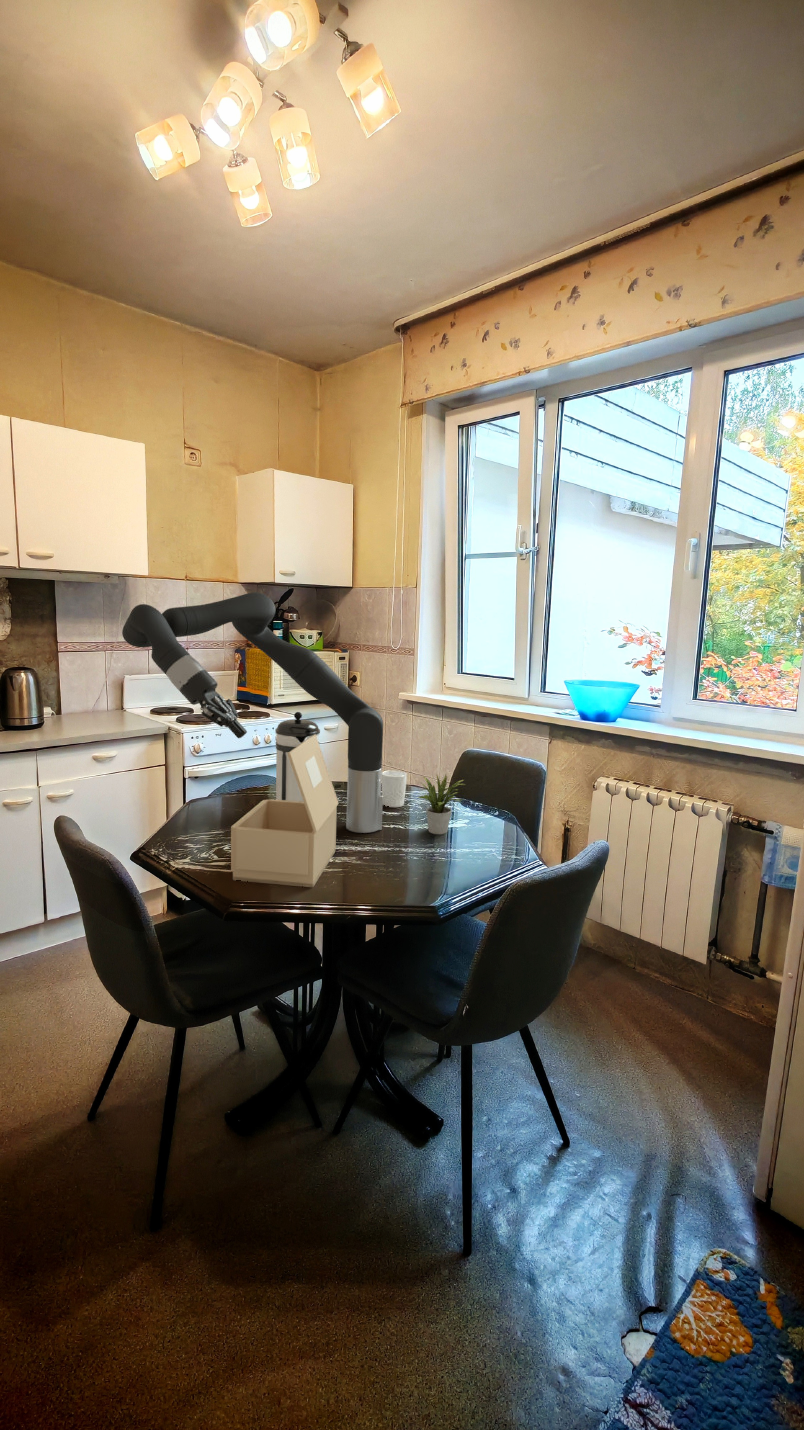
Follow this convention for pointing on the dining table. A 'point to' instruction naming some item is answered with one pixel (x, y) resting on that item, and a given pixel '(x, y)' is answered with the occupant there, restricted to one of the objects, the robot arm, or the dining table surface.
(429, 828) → the house plant
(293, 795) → the coffee press
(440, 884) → the dining table surface
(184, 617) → the robot arm
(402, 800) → the white cup
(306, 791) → the lid flap
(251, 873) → the carton
